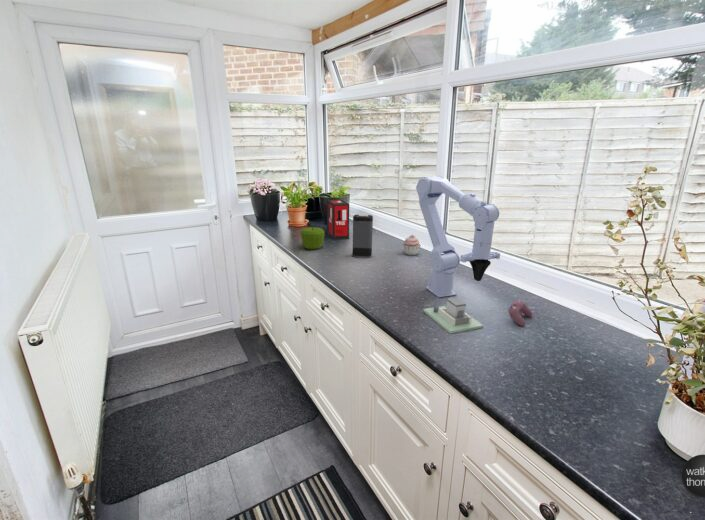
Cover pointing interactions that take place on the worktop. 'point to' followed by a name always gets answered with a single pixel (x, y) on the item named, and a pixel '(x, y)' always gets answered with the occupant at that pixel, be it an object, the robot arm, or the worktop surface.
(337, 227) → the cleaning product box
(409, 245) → the cupcake
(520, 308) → the video game controller
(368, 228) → the electronic device
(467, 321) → the board
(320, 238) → the apple
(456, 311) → the plug
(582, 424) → the worktop surface
